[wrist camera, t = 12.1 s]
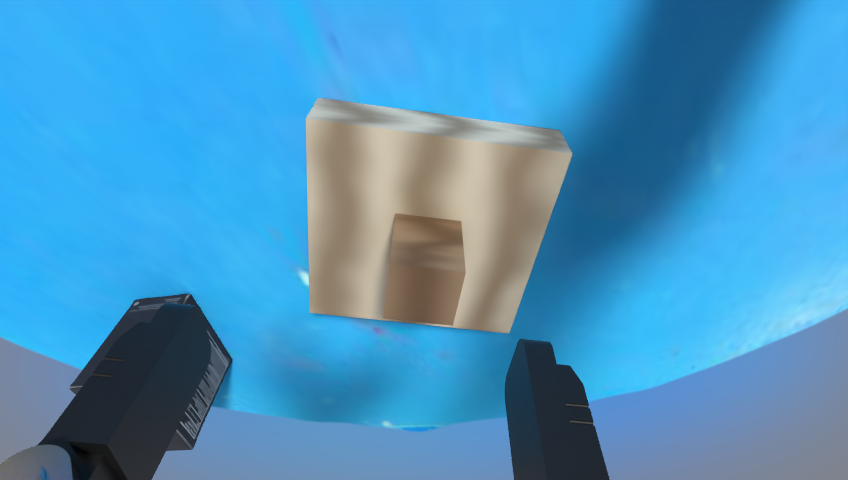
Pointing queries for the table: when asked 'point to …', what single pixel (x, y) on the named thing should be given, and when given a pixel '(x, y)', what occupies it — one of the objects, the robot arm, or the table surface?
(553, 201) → the birch plinth
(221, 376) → the small box
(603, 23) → the table surface
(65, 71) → the table surface
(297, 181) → the table surface
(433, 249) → the walnut block
